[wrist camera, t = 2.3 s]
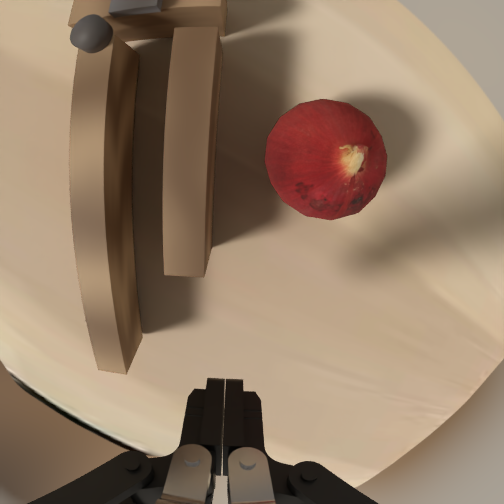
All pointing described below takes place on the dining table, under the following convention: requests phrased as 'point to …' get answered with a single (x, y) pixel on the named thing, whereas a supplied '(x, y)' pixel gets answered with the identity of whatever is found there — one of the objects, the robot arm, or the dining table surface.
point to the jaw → (104, 190)
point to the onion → (325, 159)
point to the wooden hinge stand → (180, 113)
